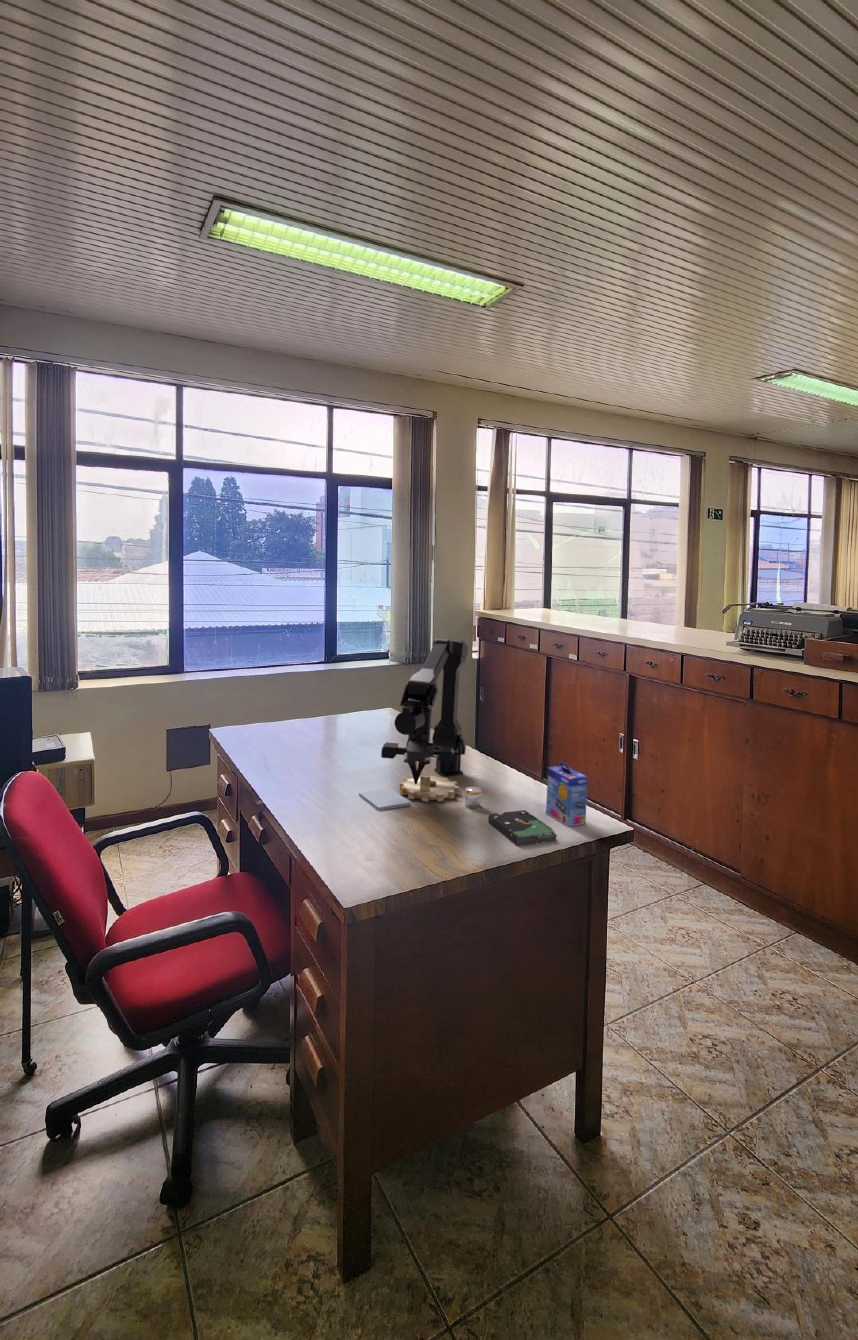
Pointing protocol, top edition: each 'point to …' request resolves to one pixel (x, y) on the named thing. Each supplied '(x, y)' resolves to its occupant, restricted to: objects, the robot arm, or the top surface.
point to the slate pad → (384, 799)
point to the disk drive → (521, 828)
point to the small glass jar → (473, 797)
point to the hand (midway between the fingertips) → (415, 784)
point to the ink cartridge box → (566, 795)
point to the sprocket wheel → (429, 788)
